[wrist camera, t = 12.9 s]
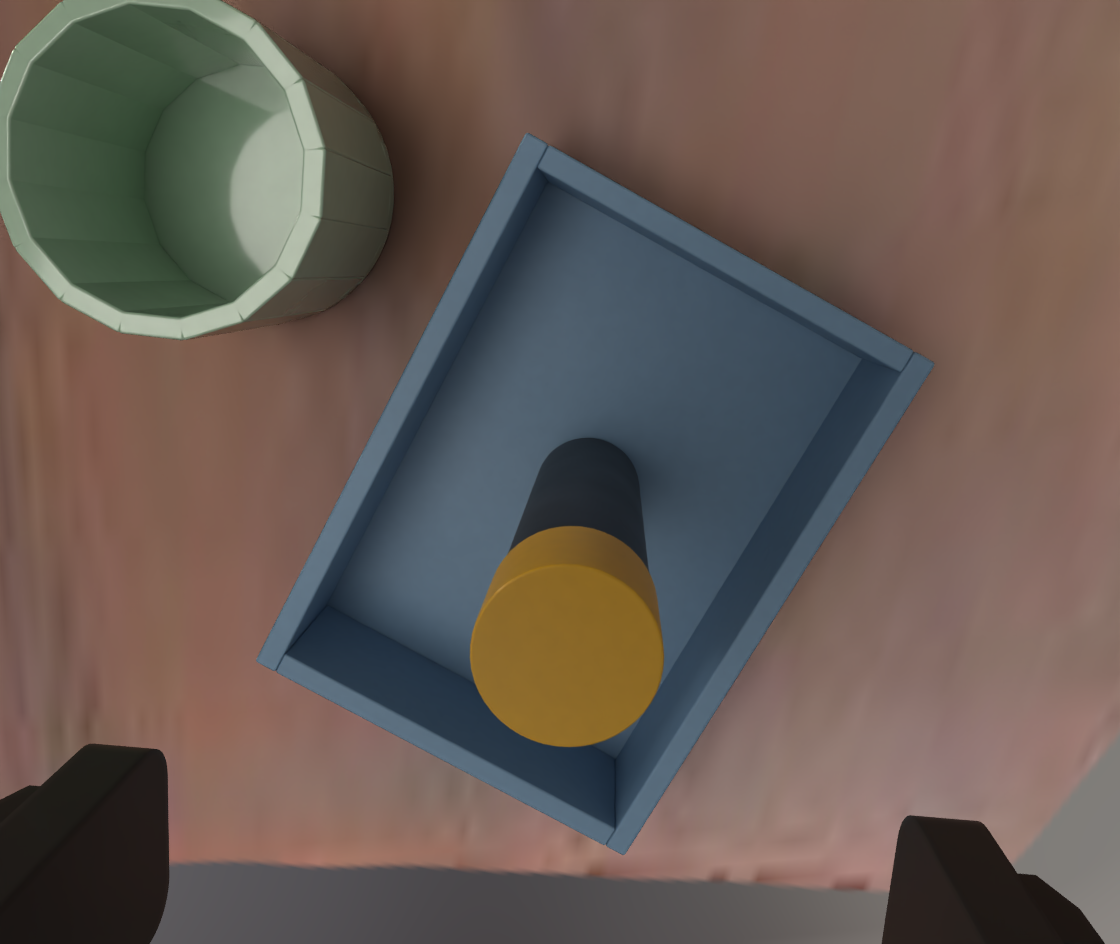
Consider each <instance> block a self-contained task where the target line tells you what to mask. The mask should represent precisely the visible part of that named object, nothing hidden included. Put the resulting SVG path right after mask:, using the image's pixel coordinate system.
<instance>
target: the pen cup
mask: <svg viewBox="0 0 1120 944" xmlns="http://www.w3.org/2000/svg"><path fill="white" fill-rule="evenodd" d="M393 206H394V183H393V174H392V167H391V163H390V159H389V155H388V151H387V148H386V146H385V143H384V140H383V138H382V135H381V133H380V131H379V129H378V127H377V125H376V123H375V122H374V120H373V118H372V116H371V115H370V114H369V112H368V111H367V109H366V108H365V106H364V105H363V104H362V102H361V101H360V100H359V99H358V98H357V97H356V96H355V95H354V93H353V92H352V91H351V90H350V89H349V88H348V87H346V85H345V84H344V83H343V82H342V80H341V79H340V78H338V77H337V76H336V75H335V74H333V73H332V72H330V71H329V70H327V69H326V68H325V67H323V66H322V65H320V64H319V63H317V62H316V61H314V60H313V59H312V58H310V57H309V56H307V55H306V54H304V53H303V52H302V51H300V50H299V49H297V48H296V47H294V46H293V45H291V44H290V43H289V42H287V41H286V40H284V39H283V38H281V37H280V36H278V35H277V34H276V33H274V32H273V31H271V30H270V29H268V28H267V27H266V26H264V25H263V24H261V23H260V22H258V21H257V20H255V19H254V18H252V17H250V16H248V15H247V14H245V13H243V12H241V11H239V10H238V9H236V8H234V7H232V6H231V5H229V4H227V3H225V2H223V1H222V0H63V2H60V3H59V4H58V5H57V6H56V7H55V8H54V9H53V10H52V11H51V12H50V13H49V14H48V15H47V16H46V17H45V18H44V19H43V20H42V21H41V22H40V23H39V24H37V25H36V26H35V27H34V28H33V29H32V30H31V31H30V32H29V33H28V34H27V35H26V36H25V37H24V38H23V39H22V40H21V41H20V42H19V43H18V44H17V45H16V46H15V49H14V50H13V51H12V53H11V56H10V58H9V61H8V63H7V66H6V68H5V71H4V74H3V76H2V79H1V81H0V212H1V215H2V218H3V220H4V223H5V225H6V228H7V231H8V233H9V236H10V238H11V241H12V244H13V246H14V247H15V248H16V251H17V252H18V253H19V254H20V255H21V256H22V258H23V259H24V260H25V261H26V262H27V263H28V264H29V266H30V267H31V268H32V269H33V270H34V271H35V273H36V274H37V275H38V276H39V277H40V278H41V279H42V281H43V282H44V283H45V284H46V285H47V286H48V287H49V289H50V290H51V291H52V292H53V293H54V294H55V296H56V297H57V298H58V299H60V300H61V301H62V302H63V303H65V304H67V305H69V306H70V307H72V308H74V309H76V310H78V311H80V312H81V313H83V314H85V315H87V316H89V317H91V318H93V319H94V320H96V321H98V322H100V323H102V324H104V325H105V326H107V327H109V328H111V329H113V330H115V331H117V332H120V333H122V334H131V335H140V336H149V337H157V338H166V339H175V340H189V339H195V338H201V337H207V336H213V335H219V334H225V333H231V332H237V331H243V330H249V329H255V328H261V327H267V326H273V325H279V324H283V323H286V322H289V321H292V320H296V319H300V318H305V317H308V316H311V315H314V314H316V313H319V312H322V311H324V310H326V309H328V308H329V307H331V306H333V305H335V304H336V303H338V302H339V301H341V300H342V299H343V298H345V297H346V296H347V295H349V294H350V293H351V292H352V291H353V290H354V289H355V288H356V287H357V286H358V285H359V284H360V283H361V282H362V281H363V280H364V278H365V277H366V276H367V274H368V273H369V272H370V271H371V269H372V268H373V266H374V264H375V263H376V261H377V259H378V257H379V256H380V254H381V251H382V249H383V247H384V244H385V242H386V239H387V236H388V233H389V229H390V225H391V221H392V214H393Z"/></svg>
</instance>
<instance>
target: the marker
mask: <svg viewBox="0 0 1120 944" xmlns="http://www.w3.org/2000/svg"><path fill="white" fill-rule="evenodd" d="M470 663H471V670H472V674H473V678H474V681H475V684H476V686H477V689H478V691H479V693H480V695H481V697H482V699H483V700H484V702H485V703H486V705H487V706H488V707H489V709H490V710H491V711H492V713H493V714H494V715H495V716H496V717H497V718H498V719H499V720H500V721H501V722H503V723H504V724H505V725H506V726H508V727H509V728H510V729H512V730H513V731H515V732H516V733H518V734H520V735H522V736H524V737H526V738H528V739H530V740H533V741H536V742H539V743H542V744H546V745H552V746H559V747H579V746H586V745H591V744H595V743H598V742H602V741H605V740H607V739H609V738H611V737H614V736H616V735H617V734H619V733H621V732H622V731H624V730H625V729H627V728H628V727H629V726H631V725H632V724H633V723H634V722H636V721H637V720H638V718H639V717H640V716H641V715H642V714H643V713H644V712H645V711H646V709H647V708H648V706H649V705H650V704H651V702H652V700H653V698H654V696H655V694H656V693H657V690H658V687H659V685H660V682H661V678H662V673H663V668H664V647H663V638H662V630H661V622H660V615H659V607H658V599H657V594H656V589H655V585H654V583H653V580H652V577H651V575H650V573H649V567H648V558H647V549H646V541H645V532H644V523H643V514H642V505H641V496H640V487H639V480H638V475H637V472H636V469H635V467H634V465H633V463H632V462H631V460H630V459H629V458H628V456H627V455H626V454H625V453H624V452H623V451H622V450H620V449H619V448H618V447H616V446H615V445H613V444H611V443H609V442H607V441H604V440H601V439H596V438H579V439H574V440H571V441H568V442H566V443H564V444H562V445H560V446H558V447H557V448H556V449H554V450H553V451H552V452H551V453H550V454H549V455H548V456H547V458H546V459H545V460H544V462H543V463H542V465H541V468H540V470H539V472H538V475H537V478H536V480H535V483H534V486H533V488H532V491H531V493H530V496H529V499H528V501H527V504H526V507H525V509H524V512H523V515H522V517H521V520H520V523H519V525H518V528H517V531H516V533H515V536H514V539H513V541H512V544H511V547H510V549H509V552H508V554H507V556H506V557H505V558H504V559H503V561H502V562H501V564H500V565H499V567H498V568H497V570H496V573H495V575H494V577H493V579H492V582H491V584H490V587H489V589H488V592H487V594H486V597H485V599H484V602H483V604H482V607H481V610H480V612H479V615H478V617H477V620H476V622H475V625H474V629H473V632H472V637H471V643H470Z"/></svg>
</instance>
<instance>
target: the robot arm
mask: <svg viewBox="0 0 1120 944" xmlns="http://www.w3.org/2000/svg"><path fill="white" fill-rule="evenodd" d="M168 886H169V830H168V773H167V764H166V760H165V757H164V755H163V753H162V752H161V751H160V750H158V749H149V748H138V747H126V746H114V745H103V744H88V745H86V746H84V747H83V748H82V749H80V750H79V751H78V752H77V753H76V754H75V755H74V756H73V757H72V758H71V759H70V760H68V761H67V762H66V763H65V764H64V765H63V766H62V767H61V768H60V769H59V770H58V771H57V772H55V773H54V774H53V775H52V776H51V777H50V778H49V779H48V780H47V781H46V782H45V783H43V784H42V785H41V786H31V785H29V786H27V787H25V788H23V789H21V790H19V791H17V792H15V793H13V794H11V795H9V796H7V797H5V798H3V799H1V800H0V944H150V942H151V940H152V938H153V937H154V935H155V933H156V931H157V929H158V926H159V923H160V921H161V918H162V915H163V912H164V908H165V904H166V899H167V893H168ZM882 944H1105V943H1104V942H1103V940H1102V939H1101V938H1100V936H1099V935H1098V933H1097V932H1096V931H1095V929H1094V928H1093V927H1092V925H1091V924H1090V922H1089V921H1088V920H1087V918H1086V917H1085V916H1084V914H1083V913H1082V911H1081V910H1080V909H1079V908H1078V907H1076V906H1075V905H1074V904H1073V903H1071V902H1070V901H1069V900H1067V899H1066V898H1065V897H1063V896H1062V895H1061V894H1060V893H1058V892H1057V891H1056V890H1055V889H1053V888H1052V887H1050V886H1049V885H1048V884H1047V883H1045V882H1044V881H1043V880H1041V879H1040V878H1039V877H1038V876H1036V875H1028V874H1017V873H1016V871H1015V869H1014V868H1013V866H1012V865H1011V863H1010V862H1009V860H1008V859H1007V857H1006V856H1005V854H1004V853H1003V851H1002V850H1001V848H1000V847H999V845H998V844H997V842H996V841H995V839H994V838H993V836H992V835H991V833H990V832H989V830H988V829H987V828H986V826H985V825H984V824H983V823H981V822H979V821H970V820H958V819H946V818H935V817H923V816H911V815H910V816H907V817H906V818H905V819H904V820H903V822H902V824H901V827H900V830H899V834H898V839H897V846H896V852H895V859H894V866H893V872H892V879H891V885H890V892H889V899H888V905H887V912H886V918H885V925H884V932H883V938H882Z"/></svg>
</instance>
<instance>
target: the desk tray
mask: <svg viewBox="0 0 1120 944" xmlns="http://www.w3.org/2000/svg"><path fill="white" fill-rule="evenodd" d="M933 367H934V362H933V361H931V360H929V359H927V358H926V357H924V356H922V355H920V354H918V353H916V352H913V350H911V349H910V348H908V347H906V346H904V345H903V344H901V343H899V342H897V341H896V340H894V339H892V338H890V337H888V336H887V335H885V334H883V333H881V332H880V331H878V330H876V329H874V328H873V327H871V326H869V325H867V324H865V323H864V322H862V321H860V320H858V319H857V318H855V317H853V316H851V315H850V314H848V313H846V312H844V311H842V310H841V309H839V308H837V307H835V306H834V305H832V304H830V303H828V302H827V301H825V300H823V299H821V298H819V297H818V296H816V295H814V294H812V293H811V292H809V291H807V290H805V289H804V288H802V287H800V286H798V285H797V284H795V283H793V282H791V281H789V280H788V279H786V278H784V277H782V276H781V275H779V274H777V273H775V272H774V271H772V270H770V269H768V268H766V267H765V266H763V265H761V264H759V263H758V262H756V261H754V260H752V259H751V258H749V257H747V256H745V255H743V254H742V253H740V252H738V251H736V250H735V249H733V248H731V247H729V246H728V245H726V244H724V243H722V242H720V241H719V240H717V239H715V238H713V237H712V236H710V235H708V234H706V233H705V232H703V231H701V230H699V229H697V228H696V227H694V226H692V225H690V224H689V223H687V222H685V221H683V220H682V219H680V218H678V217H676V216H675V215H673V214H671V213H669V212H667V211H666V210H664V209H662V208H660V207H659V206H657V205H655V204H653V203H652V202H650V201H648V200H646V199H644V198H643V197H641V196H639V195H637V194H636V193H634V192H632V191H630V190H629V189H627V188H625V187H623V186H621V185H620V184H618V183H616V182H614V181H613V180H611V179H609V178H607V177H606V176H604V175H602V174H600V173H598V172H597V171H595V170H593V169H591V168H590V167H588V166H586V165H584V164H583V163H581V162H579V161H577V160H575V159H574V158H572V157H570V156H568V155H567V154H565V153H563V152H561V151H560V150H558V149H556V148H554V147H552V146H548V144H547V143H545V142H544V141H542V140H540V139H538V138H537V137H535V136H533V135H531V134H530V133H526V134H525V136H524V137H523V139H522V141H521V143H520V145H519V147H518V149H517V151H516V153H515V155H514V157H513V159H512V161H511V163H510V165H509V167H508V169H507V171H506V173H505V175H504V177H503V178H502V180H501V182H500V184H499V186H498V188H497V190H496V192H495V194H494V196H493V198H492V200H491V202H490V204H489V206H488V208H487V210H486V212H485V214H484V216H483V218H482V219H481V221H480V223H479V225H478V227H477V229H476V231H475V233H474V235H473V237H472V239H471V241H470V243H469V245H468V247H467V249H466V251H465V253H464V255H463V257H462V259H461V261H460V262H459V264H458V266H457V268H456V270H455V272H454V274H453V276H452V278H451V280H450V282H449V284H448V286H447V288H446V290H445V292H444V294H443V296H442V298H441V300H440V302H439V303H438V305H437V307H436V309H435V311H434V313H433V315H432V317H431V319H430V321H429V323H428V325H427V327H426V329H425V331H424V333H423V335H422V337H421V339H420V341H419V343H418V344H417V346H416V348H415V350H414V352H413V354H412V356H411V358H410V360H409V362H408V364H407V366H406V368H405V370H404V372H403V374H402V376H401V378H400V380H399V382H398V384H397V386H396V387H395V389H394V391H393V393H392V395H391V397H390V399H389V401H388V403H387V405H386V407H385V409H384V411H383V413H382V415H381V417H380V419H379V421H378V423H377V425H376V427H375V428H374V430H373V432H372V434H371V436H370V438H369V440H368V442H367V444H366V446H365V448H364V450H363V452H362V454H361V456H360V458H359V460H358V462H357V464H356V466H355V468H354V470H353V471H352V473H351V475H350V477H349V479H348V481H347V483H346V485H345V487H344V489H343V491H342V493H341V495H340V497H339V499H338V501H337V503H336V505H335V507H334V509H333V511H332V512H331V514H330V516H329V518H328V520H327V522H326V524H325V526H324V528H323V530H322V532H321V534H320V536H319V538H318V540H317V542H316V544H315V546H314V548H313V550H312V552H311V553H310V555H309V557H308V559H307V561H306V563H305V565H304V567H303V569H302V571H301V573H300V575H299V577H298V579H297V581H296V583H295V585H294V587H293V589H292V591H291V593H290V595H289V596H288V598H287V600H286V602H285V604H284V606H283V608H282V610H281V612H280V614H279V616H278V618H277V620H276V622H275V624H274V626H273V628H272V630H271V632H270V634H269V636H268V637H267V639H266V641H265V643H264V645H263V647H262V649H261V651H260V653H259V655H258V657H257V659H256V661H257V662H258V663H260V664H262V665H264V666H265V667H267V668H269V669H271V670H273V671H276V670H277V671H276V672H277V673H279V674H281V675H282V676H284V677H286V678H288V679H290V680H292V681H294V682H296V683H298V684H300V685H301V686H303V687H305V688H307V689H309V690H311V691H313V692H315V693H317V694H318V695H320V696H322V697H324V698H326V699H328V700H330V701H332V702H334V703H336V704H337V705H339V706H341V707H343V708H345V709H347V710H349V711H351V712H353V713H354V714H356V715H358V716H360V717H362V718H364V719H366V720H368V721H370V722H372V723H373V724H375V725H377V726H379V727H381V728H383V729H385V730H387V731H389V732H390V733H392V734H394V735H396V736H398V737H400V738H402V739H404V740H406V741H408V742H409V743H411V744H413V745H415V746H417V747H419V748H421V749H423V750H425V751H426V752H428V753H430V754H432V755H434V756H436V757H438V758H440V759H442V760H444V761H445V762H447V763H449V764H451V765H453V766H455V767H457V768H459V769H461V770H462V771H464V772H466V773H468V774H470V775H472V776H474V777H476V778H478V779H480V780H481V781H483V782H485V783H487V784H489V785H491V786H493V787H495V788H497V789H498V790H500V791H502V792H504V793H506V794H508V795H510V796H512V797H514V798H516V799H517V800H519V801H521V802H523V803H525V804H527V805H529V806H531V807H533V808H534V809H536V810H538V811H540V812H542V813H544V814H546V815H548V816H550V817H551V818H553V819H555V820H557V821H559V822H561V823H563V824H565V825H567V826H569V827H570V828H572V829H574V830H576V831H578V832H580V833H582V834H584V835H586V836H587V837H589V838H591V839H593V840H595V841H597V842H599V843H601V844H603V845H605V844H606V846H607V847H609V848H611V849H613V850H614V851H616V852H618V853H620V854H622V855H625V854H626V852H627V851H628V849H629V847H630V846H631V844H632V843H633V841H634V839H635V838H636V836H637V835H638V833H639V832H640V830H641V828H642V827H643V825H644V824H645V822H646V820H647V819H648V817H649V816H650V814H651V813H652V811H653V809H654V808H655V806H656V805H657V803H658V802H659V800H660V798H661V797H662V795H663V794H664V792H665V790H666V789H667V787H668V786H669V784H670V783H671V781H672V779H673V778H674V776H675V775H676V773H677V771H678V770H679V768H680V767H681V765H682V764H683V762H684V760H685V759H686V757H687V756H688V754H689V752H690V751H691V749H692V748H693V746H694V745H695V743H696V741H697V740H698V738H699V737H700V735H701V734H702V732H703V730H704V729H705V727H706V726H707V724H708V722H709V721H710V719H711V718H712V716H713V715H714V713H715V711H716V710H717V708H718V707H719V705H720V703H721V702H722V700H723V699H724V697H725V696H726V694H727V692H728V691H729V689H730V688H731V686H732V685H733V683H734V681H735V680H736V678H737V677H738V675H739V673H740V672H741V670H742V669H743V667H744V666H745V664H746V662H747V661H748V659H749V658H750V656H751V654H752V653H753V651H754V650H755V648H756V647H757V645H758V643H759V642H760V640H761V639H762V637H763V635H764V634H765V632H766V631H767V629H768V628H769V626H770V624H771V623H772V621H773V620H774V618H775V617H776V615H777V613H778V612H779V610H780V609H781V607H782V605H783V604H784V602H785V601H786V599H787V598H788V596H789V594H790V593H791V591H792V590H793V588H794V586H795V585H796V583H797V582H798V580H799V579H800V577H801V575H802V574H803V572H804V571H805V569H806V568H807V566H808V564H809V563H810V561H811V560H812V558H813V556H814V555H815V553H816V552H817V550H818V549H819V547H820V545H821V544H822V542H823V541H824V539H825V537H826V536H827V534H828V533H829V531H830V530H831V528H832V526H833V525H834V523H835V522H836V520H837V518H838V517H839V515H840V514H841V512H842V511H843V509H844V507H845V506H846V504H847V503H848V501H849V500H850V498H851V496H852V495H853V493H854V492H855V490H856V488H857V487H858V485H859V484H860V482H861V481H862V479H863V477H864V476H865V474H866V473H867V471H868V469H869V468H870V466H871V465H872V463H873V462H874V460H875V458H876V457H877V455H878V454H879V452H880V451H881V449H882V447H883V446H884V444H885V443H886V441H887V439H888V438H889V436H890V435H891V433H892V432H893V430H894V428H895V427H896V425H897V424H898V422H899V420H900V419H901V417H902V416H903V414H904V413H905V411H906V409H907V408H908V406H909V405H910V403H911V401H912V400H913V398H914V397H915V395H916V394H917V392H918V390H919V389H920V387H921V386H922V384H923V383H924V381H925V379H926V378H927V376H928V375H929V373H930V371H931V370H932V368H933ZM579 438H596V439H601V440H604V441H607V442H609V443H611V444H613V445H615V446H616V447H618V448H619V449H620V450H622V451H623V452H624V453H625V454H626V455H627V456H628V458H629V459H630V460H631V462H632V463H633V465H634V467H635V469H636V472H637V475H638V480H639V487H640V496H641V505H642V514H643V523H644V532H645V541H646V549H647V558H648V567H649V573H650V575H651V577H652V580H653V583H654V585H655V589H656V594H657V599H658V607H659V615H660V622H661V630H662V638H663V647H664V668H663V673H662V678H661V682H660V685H659V687H658V690H657V693H656V694H655V696H654V698H653V700H652V702H651V704H650V705H649V706H648V708H647V709H646V711H645V712H644V713H643V714H642V715H641V716H640V717H639V718H638V720H637V721H636V722H634V723H633V724H632V725H631V726H629V727H628V728H627V729H625V730H624V731H622V732H621V733H619V734H617V735H616V736H614V737H611V738H609V739H607V740H605V741H602V742H598V743H595V744H591V745H586V746H579V747H559V746H552V745H546V744H542V743H539V742H536V741H533V740H530V739H528V738H526V737H524V736H522V735H520V734H518V733H516V732H515V731H513V730H512V729H510V728H509V727H508V726H506V725H505V724H504V723H503V722H501V721H500V720H499V719H498V718H497V717H496V716H495V715H494V714H493V713H492V711H491V710H490V709H489V707H488V706H487V705H486V703H485V702H484V700H483V699H482V697H481V695H480V693H479V691H478V689H477V686H476V684H475V681H474V678H473V674H472V670H471V663H470V643H471V637H472V632H473V629H474V625H475V622H476V620H477V617H478V615H479V612H480V610H481V607H482V604H483V602H484V599H485V597H486V594H487V592H488V589H489V587H490V584H491V582H492V579H493V577H494V575H495V573H496V570H497V568H498V567H499V565H500V564H501V562H502V561H503V559H504V558H505V557H506V556H507V554H508V552H509V549H510V547H511V544H512V541H513V539H514V536H515V533H516V531H517V528H518V525H519V523H520V520H521V517H522V515H523V512H524V509H525V507H526V504H527V501H528V499H529V496H530V493H531V491H532V488H533V486H534V483H535V480H536V478H537V475H538V472H539V470H540V468H541V465H542V463H543V462H544V460H545V459H546V458H547V456H548V455H549V454H550V453H551V452H552V451H553V450H554V449H556V448H557V447H558V446H560V445H562V444H564V443H566V442H568V441H571V440H574V439H579Z"/></svg>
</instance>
